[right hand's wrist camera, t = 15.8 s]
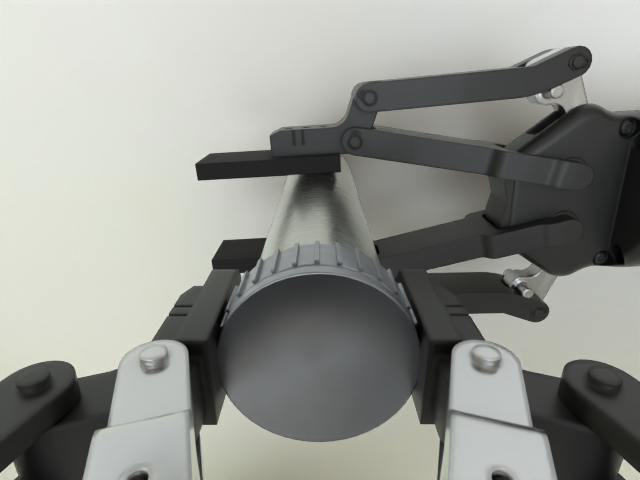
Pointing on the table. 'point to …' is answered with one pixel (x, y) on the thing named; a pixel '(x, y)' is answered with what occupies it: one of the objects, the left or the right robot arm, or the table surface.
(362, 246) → the grey long cylinder
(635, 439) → the right robot arm
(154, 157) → the table surface
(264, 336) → the lid
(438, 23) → the table surface
